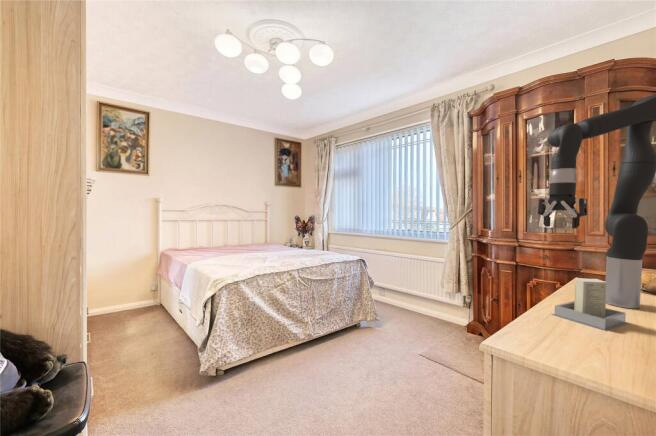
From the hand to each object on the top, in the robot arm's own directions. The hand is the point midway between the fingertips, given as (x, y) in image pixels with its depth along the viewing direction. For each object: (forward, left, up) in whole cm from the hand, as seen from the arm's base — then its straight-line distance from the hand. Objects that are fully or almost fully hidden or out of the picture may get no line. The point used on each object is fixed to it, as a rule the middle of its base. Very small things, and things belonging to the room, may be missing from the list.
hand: (560, 227), depth 106 cm
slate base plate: (+9, +13, -28) cm, 32 cm away
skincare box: (+9, +13, -28) cm, 32 cm away
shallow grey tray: (+9, +13, -27) cm, 32 cm away
